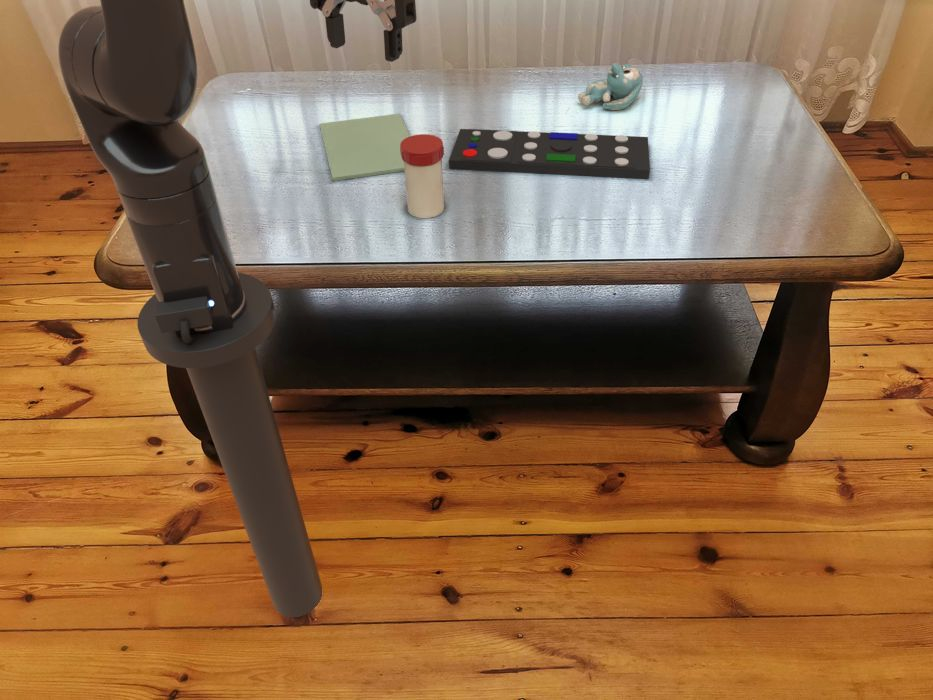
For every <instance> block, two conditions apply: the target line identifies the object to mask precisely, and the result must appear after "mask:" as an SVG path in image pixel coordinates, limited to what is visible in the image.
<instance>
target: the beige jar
mask: <svg viewBox="0 0 933 700" xmlns="http://www.w3.org/2000/svg"><path fill="white" fill-rule="evenodd" d="M403 172H404V180H405V181H404V182H405V193H406V203H407V211H408V213H409V214H410V215H411V216H413V217H415V218H418V219H419V218H420V219H431V218H435V217H439V216H440V215H441V214H442V213H443V212H444V210H445V195H444V179H443V178H444V177H443V175H444V174H443V158H442V159H441V160H440V161H438V162H437V163H434V164H431V165H425V166H416V165H411V164H408V163H406V162H404V171H403Z"/></svg>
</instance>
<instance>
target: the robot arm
mask: <svg viewBox="0 0 933 700" xmlns="http://www.w3.org/2000/svg"><path fill="white" fill-rule="evenodd" d="M99 1H100V2H99V3H100V5H91V6H87V7H84V8H81V9H80V10H78V11H76V12H74V13H73V14H72V15H71V16H70V17H69V18H68V20H66V21H65V23H64V24H63V27H62V29H61V31H60V35H59V39H58V51H57V53H58V63H59V69H60V73H61V76H62V78H63V82H64V85H65V88H66V91H67V93H68V96H69V99H70V101H71V103H72V105H73V108H74V110H75V112H76V114H77V117H78V119H79V121H80V124H81V126H82V129H83V131H84V134H85V135H86V138H87V141H88V142H89V145H90V147H91V149H92V151H93V153H94V155H95V156H96V158H97V160H98V161H99V162H100V164H101V165H102V166H103V167H104V169H105V170H106V171H107V172H108V174H109V176H110V177H111V179H112V182H113V184H114V186H115V187H114V188H115V189H116V191H117V195H118V197H119V200H120V204H121V205H122V209H123V211H124V213H125V217H126V219H127V222H128V225H129V227H130V230H131V233H132V236H133V239H134V241H135V243H136V244H135V245H136V246H137V248H138V252H139V254H140V257H141V260H142V262H143V265H144V268H145V270H146V273H147V275H148V278H149V281H150V284H151V286H152V289H153V292H154V294H156V297H157V300H158V302H156V310H155V317H156V320H157V323H158V325H159V328H160V331H161V333H166V332H172V331H175V333H176V336H177V337H178V338H179V337H182V340H183V341H184V342H185V343H187V344H190V343H192V342H193V338H192V337H191V335H197V334H204V333H209V332H215V331H221V330H227V329H231V328H233V322H234V321H235V320H237V319H238V318H239V317H240V316H241V314H242V313H243V312H244V310H245V307H246V298H245V294H244V291H243V289H242V286H241V283H240V279H239V276H238V269H237V266H236V262H235V258H234V255H233V251H232V248H231V244H230V241H229V236H228V234H227V229H226V226H225V222H224V219H223V215H222V211H221V207H220V206H219V201H218V197H217V194H216V190H215V185H214V182H213V178H212V175H211V172H210V168H209V163H208V160H207V157H206V153H205V151H204V148H203V146H202V144H201V142H200V141H199V140H198V139H197V138H196V136H194V135H193V134H192V133H191V132H189V131H188V130H187V128H186V127H184V125H182V123H181V122H180V120H181V119H182V118H183V117H184V116H185V115H186V114H187V112H188V111H189V110H190V108H191V106H192V104H193V102H194V99H195V96H196V91H197V87H198V61H197V55H196V50H195V49H196V48H195V44H194V39H193V34H192V30H191V26H190V22H189V18H188V13H187V9H186V5H185V1H184V0H99ZM347 2H348V3H355V2H356V3H358V4H360V5H363V6H369V8H370V10H371V11H372V13H373V14H374V15H377V17H378V18H379V20H380V22H381V23H382V25H383V27H384V28H385V29H384V30H383V44H384V46H383V47H384V60H385V61H387V62H389V63H393V62H394V61H397V60H399V59H400V57H401V55H403V49H404V48H403V29H404V28H406V27H407V26H408V27H409V25H412V24H414V23H416V22H417V9H416V0H383V1H380V0H309V5H310V7H311V8H312V9H313V10H316V9H317V10H319V11H320V12H321V13H322V15H323V16H324V18H325V20H324V21H325V28H326V37H327V40H328V42H329V46H330V47H331V48H333V49H339V48H341V47H343V46H345V44H346V33H345V32H346V31H345V22H344V20H345V19H344V14H343V13H340V12H342V10H343V8H344V7H345V5H346V3H347Z"/></svg>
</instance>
